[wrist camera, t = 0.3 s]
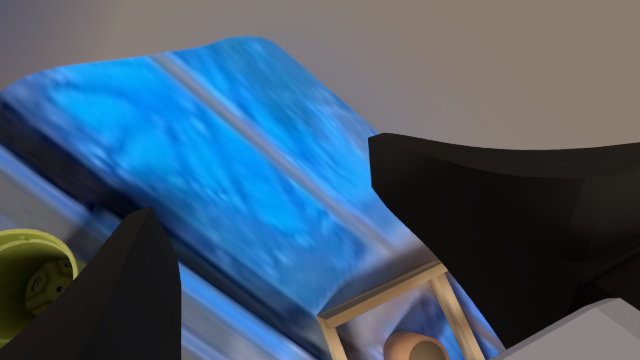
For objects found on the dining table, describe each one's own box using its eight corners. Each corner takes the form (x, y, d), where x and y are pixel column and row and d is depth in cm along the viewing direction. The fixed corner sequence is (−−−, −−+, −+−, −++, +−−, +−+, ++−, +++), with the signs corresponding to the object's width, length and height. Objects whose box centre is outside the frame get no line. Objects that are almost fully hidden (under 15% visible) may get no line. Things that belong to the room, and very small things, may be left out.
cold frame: (486, 389, 40) (518, 402, 36) (373, 465, 35) (393, 492, 31) (427, 262, 43) (450, 259, 39) (316, 315, 39) (326, 319, 34)
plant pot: (33, 232, 35) (-29, 216, 27) (128, 251, 36) (96, 241, 28) (-13, 329, 32) (-100, 344, 24) (93, 346, 33) (45, 365, 25)
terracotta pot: (429, 364, 40) (458, 376, 35) (394, 385, 38) (418, 401, 33) (411, 322, 41) (436, 328, 36) (376, 341, 39) (397, 350, 34)
